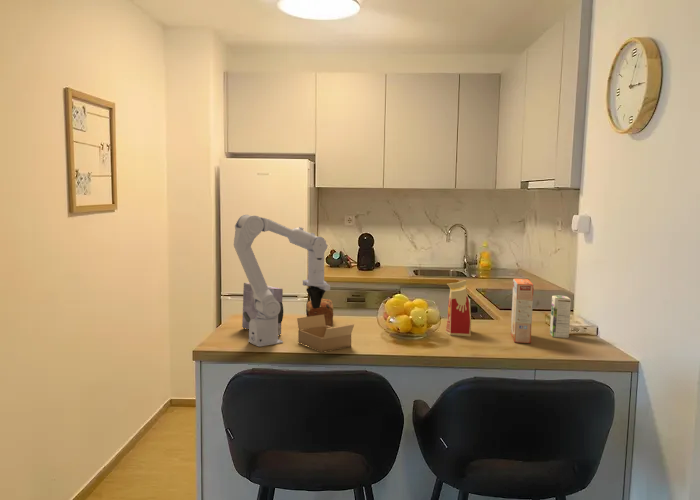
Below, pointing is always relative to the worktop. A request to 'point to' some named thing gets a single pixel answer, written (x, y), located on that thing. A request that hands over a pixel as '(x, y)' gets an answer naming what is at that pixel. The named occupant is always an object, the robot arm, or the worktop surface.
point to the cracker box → (522, 310)
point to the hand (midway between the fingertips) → (316, 307)
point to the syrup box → (560, 316)
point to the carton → (316, 341)
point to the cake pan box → (249, 307)
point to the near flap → (338, 331)
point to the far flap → (311, 322)
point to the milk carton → (458, 310)
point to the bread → (321, 310)
